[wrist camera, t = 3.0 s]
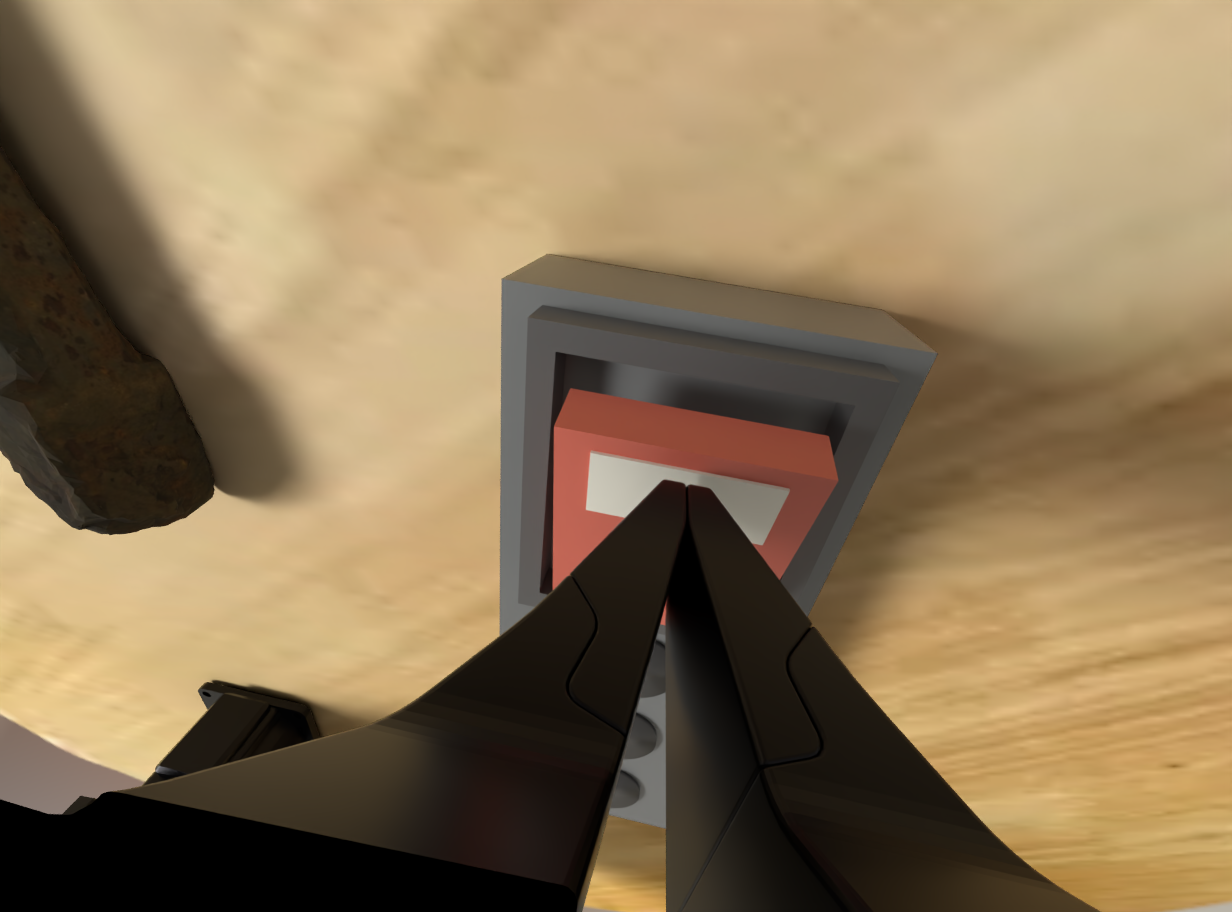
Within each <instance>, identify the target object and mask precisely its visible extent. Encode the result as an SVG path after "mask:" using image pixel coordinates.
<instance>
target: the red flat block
mask: <svg viewBox="0 0 1232 912" xmlns="http://www.w3.org/2000/svg"><path fill="white" fill-rule="evenodd" d="M664 479H667V480H672V481H677V482H682V483H684V484H685V485H686V487H687V485H689V484H693V485H698V486H703V487H708V488H710V489H711V490H712V491H713V492H714V493H715V495H716V496H717V497H718V499H719V500H720V501H721V503H722V504H723V505H724V507H725V508H726V509H727V511H728V512H729V513H730V515H731V516H732V517H733V519H734V520H735V521H736V523H737V524H738V525H739V527H740V528H741V529H742V531H743V532H744V533H745V535H746V536H747V537H748V539H749V540H750V541H751V543H752V544H753V545H754V547H755V548H756V549H757V551H758V552H759V553H760V555H761V556H762V557H763V559H764V560H765V561H766V563H767V564H768V565H769V567H770V568H771V569H772V571H773V572H774V573H775V575H776V576H777V577H778V579H779V580H780V579H781V577H782V575H783V574H784V572H785V570H786V568H787V567H788V565H789V563H790V562H791V560H792V558H793V557H794V555H795V553H796V552H797V550H798V548H799V547H800V545H801V543H802V541H803V540H804V538H805V536H806V535H807V533H808V531H809V530H810V528H811V526H812V525H813V523H814V521H815V520H816V518H817V516H818V514H819V513H820V511H821V509H822V508H823V506H824V504H825V503H826V501H827V499H828V498H829V496H830V494H831V493H832V491H833V489H834V487H835V486H836V484H837V482H838V481H839V480H838V476H837V471H836V467H835V462H834V458H833V453H832V448H831V444H830V439H829V436H827V435H821V434H816V433H810V432H805V431H800V430H794V429H789V428H783V427H778V426H773V425H767V424H762V423H756V422H751V421H745V420H740V419H735V418H729V417H724V416H718V415H713V414H708V413H702V412H697V411H691V410H686V409H681V408H675V407H670V406H664V405H659V404H653V403H648V402H643V401H637V400H632V399H626V398H621V397H616V396H610V395H605V394H599V393H594V392H589V391H583V390H578V389H572V388H570V390H569V393H568V395H567V397H566V400H565V402H564V404H563V407H562V409H561V411H560V414H559V416H558V418H557V421H556V423H555V425H554V485H553V590H554V589H555V588H556V587H557V586H558V585H559V584H560V583H561V582H562V581H563V580H564V579H565V577H567V576H569V575H570V573H571V572H572V571H573V570H574V569H575V568H576V567H577V566H578V565H579V564H580V563H581V562H582V561H583V560H584V559H585V558H586V557H587V556H588V555H589V554H590V553H591V552H592V551H593V549H594V548H595V547H596V546H597V545H598V544H599V543H600V542H601V541H602V540H603V539H604V538H605V537H606V536H607V535H608V534H609V533H610V532H611V531H612V530H613V529H614V528H615V527H616V526H617V525H618V524H619V523H620V522H621V521H622V520H623V519H624V518H625V517H626V516H627V515H628V514H629V513H630V512H631V511H632V510H633V509H634V508H635V507H636V506H637V505H638V504H639V503H640V502H641V501H642V500H643V499H644V498H645V497H646V496H647V495H648V494H649V493H650V492H651V491H652V490H653V489H654V488H655V487H656V486H657V485H658V484H659V483H660V482H661V481H662V480H664ZM665 616H666V605H665V608H664V612H663V616H662V620H661V623H660V624H661V625H665Z"/></svg>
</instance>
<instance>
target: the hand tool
mask: <svg viewBox="0 0 1232 912" xmlns="http://www.w3.org/2000/svg"><path fill="white" fill-rule="evenodd" d="M0 451H1V452H2V454H3V455H4V456H5V457H6V458H7V459H9V461H10V463H11V465H12V468H13V470H14V471H15V472H17V473H19V474H20V475H21V477H22V479H23V481H24V483H25V485H26V486H27V487H28V488H29V489H30V490H31V491H32V492H33V493H34V494H35V495H36V496H37V497H38V498H39V499H41V500H43V501H44V502H45V503H46V504H48V505H49V506H50V507H51V508H52V509H53V510H54V511H55V512H56V514H57V515H58V516H59V517H60V518H61V519H63V520H64V521H65V522H66V523H67V524H69V525H70V526H71V527H73V528H76V529H79V530H82V529H88V530H91V531H94V532H97V533H100V534H109V535H113V534H127V533H132V532H137V531H139V530H142V529H147V528H151V527H161V526H166V525H169V524H171V523H173V522H175V521H177V520H180V519H182V518H186V517H187V516H189V515H190V514H191V513H192V512H194V511H195V510H197V509H198V508H199V507H201V506H202V505H203V504H205V503H206V502H207V501H208V500H210V499H211V498H212V497H213V495H214V491H215V489H214V479H213V476H212V473H211V469H210V466H209V463H208V460H207V458H206V455H205V453H204V449H203V445H202V441H201V438H200V436H199V435H198V434H197V432H196V431H195V429H194V427H193V424H192V422H191V420H190V418H189V416H188V414H187V412H186V410H185V409H184V407H183V404H182V402H181V400H180V397H179V395H178V393H177V390H176V388H175V386H174V384H173V381H172V379H171V377H170V375H169V373H168V371H167V369H166V368H165V367H164V365H163V364H162V363H161V362H160V361H159V360H157V359H155V358H152V357H150V356H148V355H144V354H140V353H139V352H137V351H136V350H135V349H134V348H133V347H132V346H131V344H130V343H129V342H128V340H127V339H126V338H125V337H124V336H123V335H122V334H121V332H120V331H119V330H118V329H117V328H116V327H115V325H114V324H113V322H112V320H111V319H110V317H109V315H108V313H107V311H106V310H105V309H104V307H103V306H102V305H101V303H100V302H99V301H98V299H97V298H96V296H95V294H94V292H93V290H92V289H91V287H90V285H89V283H88V281H87V279H86V278H85V276H84V275H83V273H82V272H81V270H80V269H79V267H78V266H77V264H76V263H75V262H74V260H73V259H72V257H71V256H70V254H69V252H68V249H67V247H66V245H65V243H64V240H63V238H62V236H61V233H60V231H59V229H58V228H57V227H56V226H55V225H54V224H53V223H52V222H51V221H50V220H49V219H48V218H47V217H46V216H45V215H44V214H43V213H42V212H41V210H40V209H39V207H38V206H37V205H36V203H35V201H34V200H33V198H32V196H31V194H30V193H29V191H28V189H27V188H26V186H25V184H24V182H23V181H22V179H21V177H20V176H19V174H18V173H17V171H16V170H15V169H14V167H13V166H12V164H11V162H10V160H9V159H8V157H7V155H6V153H5V152H4V151H3V149H2V148H1V146H0Z"/></svg>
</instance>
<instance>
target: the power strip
mask: <svg viewBox="0 0 1232 912" xmlns="http://www.w3.org/2000/svg"><path fill="white" fill-rule="evenodd" d="M937 354H938V353H937V352H935V351H934V350H933V349H931V348H930V347H929V346H928V345H926V344H925V343H924V342H923V341H921V340H920V339H919V338H918V337H916V336H915V335H914V334H913V333H911V332H910V331H909V330H907V329H906V328H905V327H904V326H902V325H901V324H900V323H899V322H897V321H896V320H895V319H894V318H892V317H891V316H890V315H888V314H887V313H886V312H885V311H883V310H879V309H873V308H867V307H861V306H855V305H849V304H843V303H837V302H831V301H825V300H819V299H813V298H807V297H801V296H795V295H789V294H783V293H777V292H771V291H765V290H759V289H753V288H747V287H741V286H735V285H729V284H723V283H718V282H712V281H706V280H700V279H694V278H688V277H682V276H676V275H670V274H664V273H658V272H652V271H646V270H640V269H634V268H628V267H622V266H616V265H610V264H604V263H598V262H592V261H586V260H580V259H574V258H568V257H562V256H556V255H550V254H546V255H545V256H543V257H541V258H539V259H537V260H535V261H534V262H532V263H530V264H528V265H526V266H524V267H523V268H521V269H519V270H517V271H515V272H513V273H512V274H510V275H508V276H506V277H504V278H502V321H501V496H500V635H502V634H503V633H504V632H505V631H507V630H508V629H509V628H510V627H512V626H513V625H514V624H515V623H517V622H518V621H519V620H520V619H521V618H523V617H524V616H525V615H526V614H528V613H529V612H530V611H531V610H532V609H533V608H534V607H536V606H537V605H538V604H539V603H540V602H541V601H542V600H543V599H544V598H545V597H546V596H547V595H548V594H549V593H551V592H552V591H553V485H554V425H555V423H556V421H557V418H558V416H559V414H560V411H561V409H562V407H563V404H564V402H565V400H566V397H567V395H568V393H569V390H570V388H572V389H578V390H583V391H589V392H594V393H599V394H605V395H610V396H616V397H621V398H626V399H632V400H637V401H643V402H648V403H653V404H659V405H664V406H670V407H675V408H681V409H686V410H691V411H697V412H702V413H708V414H713V415H718V416H724V417H729V418H735V419H740V420H745V421H751V422H756V423H762V424H767V425H773V426H778V427H783V428H789V429H794V430H800V431H805V432H810V433H816V434H821V435H827V436H829V439H830V444H831V448H832V453H833V458H834V462H835V467H836V471H837V476H838V480H839V481H838V482H837V484H836V486H835V487H834V489H833V491H832V493H831V494H830V496H829V498H828V499H827V501H826V503H825V504H824V506H823V508H822V509H821V511H820V513H819V514H818V516H817V518H816V520H815V521H814V523H813V525H812V526H811V528H810V530H809V531H808V533H807V535H806V536H805V538H804V540H803V541H802V543H801V545H800V547H799V548H798V550H797V552H796V553H795V555H794V557H793V558H792V560H791V562H790V563H789V565H788V567H787V568H786V570H785V572H784V574H783V575H782V577H781V579H780V581H781V583H782V584H783V585H784V587H785V588H786V589H787V591H788V592H789V593H790V595H791V596H792V597H793V599H794V600H795V601H796V603H797V604H798V605H799V606H800V608H801V609H802V610H803V612H804V613H805V614H806V616H807V617H808V615H809V613H810V611H811V609H812V607H813V605H814V603H815V601H816V599H817V597H818V595H819V593H820V591H821V589H822V587H823V585H824V582H825V580H826V578H827V576H828V574H829V572H830V570H831V568H832V566H833V564H834V562H835V560H836V558H837V556H838V554H839V552H840V550H841V548H842V546H843V544H844V542H845V540H846V538H847V536H848V534H849V532H850V530H851V528H852V526H853V524H854V522H855V520H856V518H857V516H858V514H859V512H860V510H861V508H862V506H863V504H864V502H865V500H866V498H867V496H868V494H869V492H870V490H871V488H872V486H873V484H874V482H875V480H876V478H877V475H878V473H879V471H880V469H881V467H882V465H883V463H884V461H885V459H886V457H887V455H888V453H889V451H890V449H891V447H892V445H893V443H894V441H895V439H896V437H897V435H898V433H899V431H900V429H901V427H902V425H903V423H904V421H905V419H906V417H907V415H908V413H909V411H910V409H911V407H912V405H913V403H914V401H915V399H916V397H917V395H918V393H919V391H920V389H921V387H922V385H923V383H924V381H925V379H926V377H927V375H928V373H929V371H930V368H931V366H932V364H933V362H934V360H935V358H936V356H937ZM609 815H612V816H616V817H620V818H624V819H628V820H632V821H636V822H640V823H645V824H649V825H653V826H657V827H661V828H665V829H666V672H665V625H661V624H660V627H659V631H658V634H657V638H656V642H655V645H654V649H653V653H652V657H651V660H650V664H649V668H648V671H647V675H646V679H645V682H644V686H643V690H642V693H641V697H640V701H639V704H638V708H637V712H636V715H635V719H634V723H633V726H632V730H631V734H630V737H629V741H628V745H627V748H626V752H625V756H624V759H623V763H622V767H621V770H620V774H619V778H618V782H617V785H616V789H615V793H614V796H613V800H612V804H611V807H610V811H609Z"/></svg>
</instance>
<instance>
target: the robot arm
mask: <svg viewBox="0 0 1232 912" xmlns="http://www.w3.org/2000/svg"><path fill="white" fill-rule="evenodd" d="M665 605H666V616H665V672H666V912H1100V911H1099V910H1097V909H1095V908H1094V907H1092V906H1090V905H1088V904H1087V903H1085V902H1083V901H1082V900H1080V899H1078V898H1076V897H1075V896H1073V895H1071V894H1070V893H1068V892H1067V891H1065V890H1063V889H1062V888H1060V887H1059V886H1057V885H1056V884H1054V883H1053V882H1051V881H1050V880H1049V879H1047V878H1046V877H1044V876H1043V875H1041V874H1040V873H1039V872H1037V871H1036V870H1034V869H1033V868H1032V867H1031V866H1029V865H1028V864H1027V863H1026V862H1025V861H1023V860H1022V859H1021V858H1020V857H1019V856H1017V855H1016V854H1015V853H1014V852H1013V851H1012V850H1011V849H1009V848H1008V847H1007V846H1006V845H1005V844H1004V843H1003V842H1002V841H1001V840H1000V839H999V838H998V837H997V836H996V835H994V833H993V832H992V831H991V830H990V829H989V828H988V827H987V826H986V825H985V824H984V823H983V822H982V821H981V820H980V819H979V818H978V817H977V816H976V815H975V813H974V812H973V811H972V810H971V809H970V808H969V807H968V806H967V804H966V803H965V802H964V801H963V800H962V799H961V798H960V797H959V796H958V794H957V793H956V792H955V791H954V790H953V789H952V788H951V787H950V785H949V784H948V783H947V782H946V781H945V780H944V779H943V778H942V777H941V775H940V774H939V773H938V772H937V771H936V770H935V769H934V768H933V766H932V765H931V764H930V763H929V762H928V761H927V760H926V759H925V758H924V756H923V755H922V754H921V753H920V752H919V751H918V750H917V749H916V748H915V746H914V745H913V744H912V743H911V742H910V741H909V740H908V739H907V737H906V736H905V735H904V734H903V733H902V732H901V731H900V730H899V729H898V727H897V726H896V725H895V724H894V723H893V722H892V721H891V720H890V718H889V717H888V716H887V715H886V714H885V713H884V712H883V710H882V709H881V708H880V707H879V706H878V705H877V703H876V702H875V701H874V700H873V699H872V698H871V697H870V695H869V694H868V693H867V692H866V691H865V690H864V688H863V687H862V686H861V685H860V684H859V683H858V681H857V680H856V679H855V678H854V677H853V675H852V674H851V673H850V671H849V670H848V669H847V668H846V666H845V665H844V664H843V663H842V661H841V660H840V659H839V658H838V656H837V655H836V654H835V652H834V651H833V650H832V649H831V647H830V646H829V645H828V643H827V642H826V641H825V639H824V638H823V637H822V635H821V634H820V633H819V631H818V630H817V629H816V628H815V627H812V623H811V621H810V620H809V618H808V617H807V616H806V614H805V613H804V612H803V610H802V609H801V608H800V606H799V605H798V604H797V603H796V601H795V600H794V599H793V597H792V596H791V595H790V593H789V592H788V591H787V589H786V588H785V587H784V585H783V584H782V583H781V581H780V580H779V579H778V577H777V576H776V575H775V573H774V572H773V571H772V569H771V568H770V567H769V565H768V564H767V563H766V561H765V560H764V559H763V557H762V556H761V555H760V553H759V552H758V551H757V549H756V548H755V547H754V545H753V544H752V543H751V541H750V540H749V539H748V537H747V536H746V535H745V533H744V532H743V531H742V529H741V528H740V527H739V525H738V524H737V523H736V521H735V520H734V519H733V517H732V516H731V515H730V513H729V512H728V511H727V509H726V508H725V507H724V505H723V504H722V503H721V501H720V500H719V499H718V497H717V496H716V495H715V493H714V492H713V491H712V490H711V489H710V488H708V487H703V486H698V485H693V484H689V485H687V487H686V485H685V484H684V483H682V482H677V481H672V480H667V479H664V480H662V481H661V482H660V483H659V484H658V485H657V486H656V487H655V488H654V489H653V490H652V491H651V492H650V493H649V494H648V495H647V496H646V497H645V498H644V499H643V500H642V501H641V502H640V503H639V504H638V505H637V506H636V507H635V508H634V509H633V510H632V511H631V512H630V513H629V514H628V515H627V516H626V517H625V518H624V519H623V520H622V521H621V522H620V523H619V524H618V525H617V526H616V527H615V528H614V529H613V530H612V531H611V532H610V533H609V534H608V535H607V536H606V537H605V538H604V539H603V540H602V541H601V542H600V543H599V544H598V545H597V546H596V547H595V548H594V549H593V551H592V552H591V553H590V554H589V555H588V556H587V557H586V558H585V559H584V560H583V561H582V562H581V563H580V564H579V565H578V566H577V567H576V568H575V569H574V570H573V571H572V572H571V573H570V575H569V576H567V577H565V579H564V580H563V581H562V582H561V583H560V584H559V585H558V586H557V587H556V588H555V589H554V590H553V591H552V592H551V593H549V594H548V595H547V596H546V597H545V598H544V599H543V600H542V601H541V602H540V603H539V604H538V605H537V606H536V607H534V608H533V609H532V610H531V611H530V612H529V613H528V614H526V615H525V616H524V617H523V618H521V619H520V620H519V621H518V622H517V623H515V624H514V625H513V626H512V627H510V628H509V629H508V630H507V631H505V632H504V633H503V634H502V635H500V636H499V637H498V638H496V639H495V640H494V641H492V642H491V643H490V644H489V645H487V646H486V647H485V648H483V649H482V650H481V651H479V652H478V653H477V654H476V655H474V656H473V657H472V658H470V659H469V660H468V661H466V662H465V663H464V664H462V665H461V666H460V667H459V668H457V669H456V670H455V671H453V672H452V673H451V674H449V675H448V676H447V677H445V678H444V679H443V680H442V681H440V682H439V683H438V684H436V685H435V686H434V687H432V688H431V689H430V690H428V691H427V692H426V693H424V694H423V695H422V696H420V697H419V698H418V699H416V700H415V701H413V702H411V703H410V704H408V705H407V706H405V707H403V708H402V709H400V710H398V711H396V712H394V713H393V714H391V715H389V716H387V717H385V718H383V719H380V720H378V721H376V722H373V723H371V724H368V725H365V726H362V727H358V728H355V729H351V730H347V731H344V732H340V733H336V734H333V735H329V736H325V737H322V738H320V736H319V733H318V730H317V728H316V725H315V722H314V719H313V716H312V713H311V711H310V709H309V708H308V707H306V706H304V705H302V704H298V703H294V702H290V701H285V700H281V699H277V698H273V697H268V696H264V695H260V694H256V693H252V692H247V691H243V690H239V689H235V688H231V687H226V686H222V685H218V684H214V683H209V682H206V683H204V684H203V685H202V686H201V687H200V689H199V690H198V692H199V694H200V696H201V698H202V700H203V702H204V704H205V705H206V707H207V709H208V710H207V711H206V712H205V714H204V715H203V716H202V717H201V718H200V719H199V720H198V721H197V722H196V723H195V724H194V726H193V727H192V728H191V729H190V730H189V731H188V732H187V733H186V734H185V735H184V736H183V738H182V739H181V740H180V741H179V742H178V743H177V744H176V745H175V746H174V747H173V748H172V750H171V751H170V752H169V753H168V754H167V755H166V756H165V757H164V758H163V759H162V760H161V762H160V763H159V764H158V765H157V766H156V768H155V772H154V773H153V774H152V775H151V776H150V777H149V778H148V779H147V781H146V782H145V783H144V784H143V785H142V786H140V787H135V788H131V789H126V790H118V791H111V792H106V793H103V794H101V795H100V796H99V797H98V798H97V799H95V798H89V797H84V796H80V797H79V798H78V799H77V800H76V801H75V802H74V803H73V804H72V805H71V806H70V807H69V808H68V809H67V810H66V811H65V812H64V813H63V814H62V815H61V814H60V815H59V814H46V813H43V812H40V811H37V810H33V809H30V808H27V807H23V806H20V805H17V804H14V803H10V802H7V801H4V800H0V912H582V910H583V907H584V903H585V899H586V895H587V892H588V888H589V884H590V881H591V877H592V873H593V870H594V866H595V862H596V859H597V855H598V851H599V848H600V844H601V840H602V837H603V833H604V829H605V826H606V822H607V818H608V815H609V811H610V807H611V804H612V800H613V796H614V793H615V789H616V785H617V782H618V778H619V774H620V770H621V767H622V763H623V759H624V756H625V752H626V748H627V745H628V741H629V737H630V734H631V730H632V726H633V723H634V719H635V715H636V712H637V708H638V704H639V701H640V697H641V693H642V690H643V686H644V682H645V679H646V675H647V671H648V668H649V664H650V660H651V657H652V653H653V649H654V645H655V642H656V638H657V634H658V631H659V627H660V623H661V620H662V616H663V612H664V608H665Z"/></svg>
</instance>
